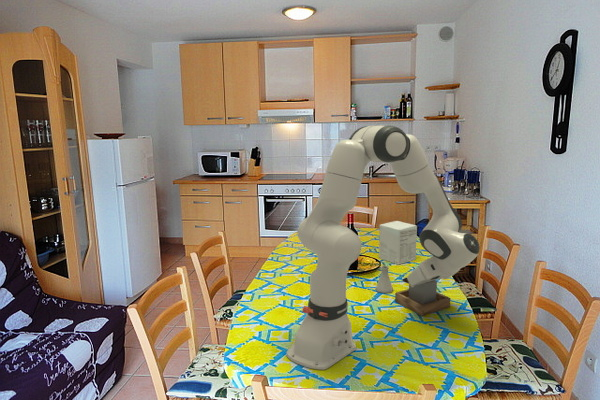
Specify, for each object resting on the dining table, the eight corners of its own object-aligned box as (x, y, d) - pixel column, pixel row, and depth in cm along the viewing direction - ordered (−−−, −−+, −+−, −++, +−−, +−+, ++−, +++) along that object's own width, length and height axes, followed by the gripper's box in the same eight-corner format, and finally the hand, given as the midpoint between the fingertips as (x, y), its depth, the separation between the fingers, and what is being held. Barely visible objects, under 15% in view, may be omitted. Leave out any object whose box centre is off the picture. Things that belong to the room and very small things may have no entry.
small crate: (436, 303, 149) (437, 281, 147) (424, 307, 146) (424, 284, 144) (420, 296, 156) (420, 274, 154) (408, 299, 153) (409, 277, 151)
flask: (393, 294, 160) (394, 270, 159) (375, 293, 162) (375, 269, 160) (393, 287, 167) (393, 264, 166) (375, 286, 169) (376, 263, 167)
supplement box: (416, 259, 200) (417, 225, 196) (398, 265, 192) (399, 229, 189) (396, 252, 210) (397, 220, 207) (378, 257, 203) (378, 224, 200)
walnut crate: (450, 307, 148) (450, 298, 148) (422, 316, 142) (422, 307, 141) (422, 293, 161) (422, 285, 160) (395, 301, 154) (395, 292, 153)
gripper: (459, 252, 146) (437, 269, 157) (417, 262, 137) (396, 280, 147) (468, 268, 143) (445, 284, 154) (426, 279, 134) (405, 296, 144)
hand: (421, 282), depth 150 cm, fingers open, 8 cm apart
